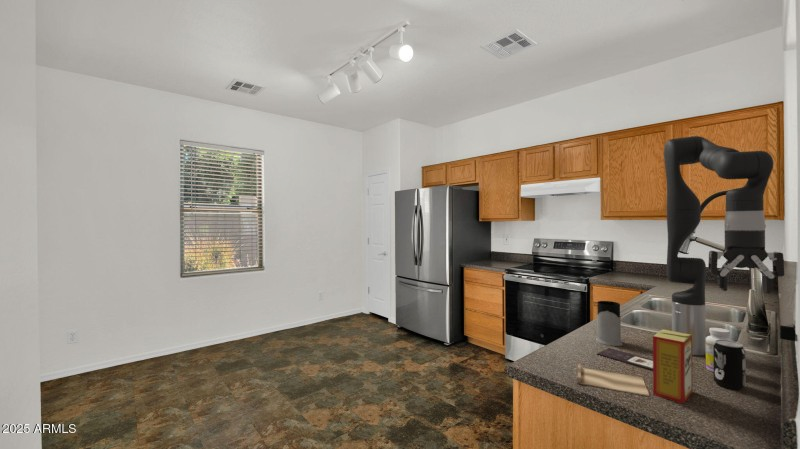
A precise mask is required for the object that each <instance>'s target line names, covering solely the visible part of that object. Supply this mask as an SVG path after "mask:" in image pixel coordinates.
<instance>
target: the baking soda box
mask: <svg viewBox="0 0 800 449" xmlns="http://www.w3.org/2000/svg"><path fill="white" fill-rule="evenodd" d="M652 360H653V371H652V375H653V376H652V378H653V381H652V384H653V385H652V386H653V388H652V390H653V393H652V394H653V395H655V396H657V397H662V398H665V399H667V400H671V401H674V402H678V403H681V404H685V403H686V402H687V400H688V399H689V398H690V396H691V394H692V393H694V392H693V390H694V389H693V355H692V334H687V333H681V332H676V331H672V329H671V330H669V329H664V328H663V329H660V331H658V332H657V333H656V334H654V335H652Z"/></svg>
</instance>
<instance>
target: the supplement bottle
mask: <svg viewBox="0 0 800 449" xmlns="http://www.w3.org/2000/svg"><path fill="white" fill-rule="evenodd" d="M709 333H710V335H708V336H706V354H705V367H706V370H708V371H709V372H712V373H714V358H713V346H714V344H715V343H716V342H715V341H716V340H729V341H734V340H733V339H732V338H730V335H731V331H730V330H729V329H727V328H726V329H725V328H720V327H709Z"/></svg>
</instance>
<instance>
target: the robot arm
mask: <svg viewBox="0 0 800 449" xmlns="http://www.w3.org/2000/svg"><path fill="white" fill-rule="evenodd" d="M663 158H664V159H663V160H664V170H665V179H666V227H667V228H666V229H667V251H666V252H667V253H666V277H667V280H668V282H671V283H677V284H689V285H693V286H692V287H690V288H688V289H686V290H681V291H676V292H673V293H672V295H671V331H676V332H681V333H687V334H692V356H704V355H705V356H706V337H707V336H706V277H707V270H708V272H709V273H711V274H714V275H716V276H717V286H718V288H719V289H720V290H721V291H723V292H727V291H728V277H727V275H728V274H729V273H730V272H731V271H732V270H734V269H735V268H738V269H745V268H747V269H756V270H757V271H759V273H760V274H761V275H762V276H763V277H762V292H763V293H764V294H771V292H773V291H774V290H775V289H774V279H775V278H779V277H785V262H784V253H783V252H781V251H779V252H778V251H773V252H768V251H767V250H766V228H767V226H766V217H765V213H764V194H765V192H766V188H767V184H768V183H769V179H770V177H771V174H772V171H773V169H774V159H773V157H772V155H771V154H770V153H769V152H767V151H764V150H752V151H751V150H750V151H739V150H738V149H736V148H733V147H728V146H721V145H718V144H716V143H714V142H712V141H711V140H709V139H708V138H705V137H703V136H700V135H699V136H698V135H694V136H685V137H684V136H683V137H676V138H671V139H669V140H667V141H666V142H665V145H664V147H663ZM698 163H700V165H701V166H702V167H703V168H704V169H707V170H710V171H712V172H715V173H716V175H717V176H718V177H719V178H720V179H723V180H724V179H725V180H746V179H747V181H746V183H745V185H744V186H742V187H738V188H733V189H732V188H731V189H729V190H728V191H727V192H726V193H725V215H724V249H723V251H716V250H709V251H708V264H706V261H705V260H704V259H703V258H699V257H684V256H683V257H681V256H679V253H680V251H681V248H682V246H683V245H684V243H685V242H686V240H687V239H688V238H689V237H690V236H691V235H692V233H694V231H695V230H696V229H697V227H699V224H700V223H701V202H700V199H699V198H698V196H697V195H696V193H695V192H694V191H693V190H692V189H691V188H690V187H689V185H688V184H687V183H686V182H685V180H684V179H683V176H682V173H681V172H682V171H681V166H684V165H693V164H694V165H695V164H698ZM721 257H723V258H725V260H726V261H725V262H724V263H723V264H722V266H721V267H720V268H719V269H718V260H720V259H721ZM767 258H769V261H772V271H771V270H770V269H769V268H768V266H767V265H766V264H765V263H764V261H765V260H766V259H767ZM706 265H708V266H706ZM707 267H708V268H707Z"/></svg>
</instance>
